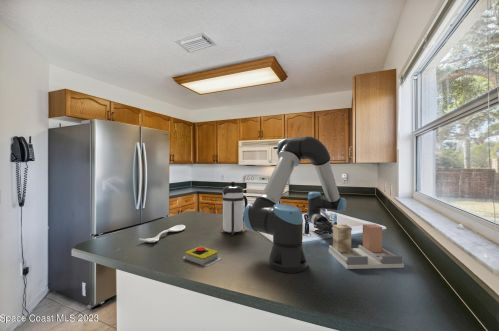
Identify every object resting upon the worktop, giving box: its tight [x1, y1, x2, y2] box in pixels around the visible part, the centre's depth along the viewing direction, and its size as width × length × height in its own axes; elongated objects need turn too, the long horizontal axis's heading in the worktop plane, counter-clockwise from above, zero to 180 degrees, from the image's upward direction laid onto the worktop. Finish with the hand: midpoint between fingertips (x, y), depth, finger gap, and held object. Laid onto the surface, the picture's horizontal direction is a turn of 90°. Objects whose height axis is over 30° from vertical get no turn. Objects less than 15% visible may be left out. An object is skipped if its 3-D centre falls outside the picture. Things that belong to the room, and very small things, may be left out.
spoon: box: [138, 224, 186, 243], centre depth 127 cm, size 9×32×4 cm, turn 164°
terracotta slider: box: [362, 223, 383, 252], centre depth 102 cm, size 6×5×11 cm
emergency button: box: [182, 246, 223, 267], centre depth 97 cm, size 9×4×15 cm
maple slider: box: [332, 224, 352, 253], centre depth 101 cm, size 6×5×11 cm
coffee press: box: [219, 181, 249, 237], centre depth 136 cm, size 17×16×30 cm
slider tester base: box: [328, 244, 405, 270], centre depth 97 cm, size 23×17×4 cm
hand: (339, 234), depth 105 cm, fingers closed
